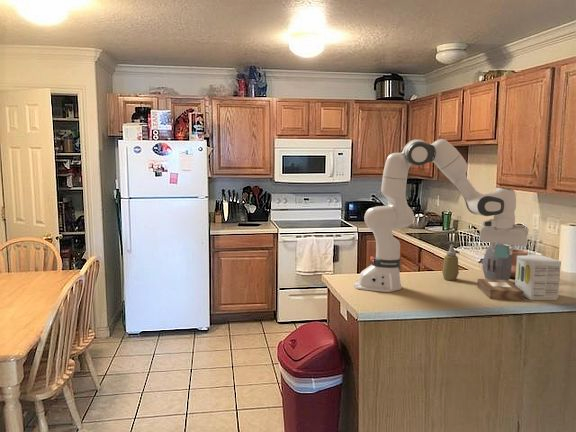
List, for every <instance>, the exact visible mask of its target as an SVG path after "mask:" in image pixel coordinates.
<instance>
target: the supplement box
mask: <svg viewBox="0 0 576 432" xmlns="http://www.w3.org/2000/svg"><path fill="white" fill-rule="evenodd" d="M561 267H562V260H557V259H555V258H551V257H548V256H545V255H527V256H517V264H516V278H514V279H515V281H514V285H516V286H517V287H518V288H520V289H521V290H522V291H524V295H523V298H526V299H527V300H528V299H529V300H530V301H534V300H535V301H553V300H555V301H556V300H559V289H560V279H561V278H560V276H561Z"/></svg>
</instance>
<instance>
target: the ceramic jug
mask: <svg viewBox="0 0 576 432" xmlns="http://www.w3.org/2000/svg"><path fill="white" fill-rule="evenodd" d="M511 248H512V247H509V249H511ZM528 254H529V252H528V251H527V250H525V249H518V248H514V249H513V251H512V268H511V276H510V279H511V278H512V279H515V278H516V264H517V256H529V255H528Z"/></svg>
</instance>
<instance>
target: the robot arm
mask: <svg viewBox="0 0 576 432" xmlns="http://www.w3.org/2000/svg"><path fill="white" fill-rule="evenodd" d="M430 162H432V163H433V164H435V166H436V167H437V168H438V170H439V171H440V172H441V173H442V174H443V175H444V176H445V177H446V178H447V179H448V180H449V181H450V182H451V183H452V184H453V185H454V187H455V188H456V189H457V191H458V192H459V193H460V195H461V196H462V197H463V199H464V203H465V206H466V209H467V211H469V212H470V213H471V214H473V215H476V216H477V215H479V216H483V217H492V216H493V218H492V219H488V220H485V221H482V223H481V224H482V227H480V230H479V235H478V239H479V241H480V242H484V243H489V246H491V248H492V252H493V253H495V247H494V244H495V243H499V244H503V245H507V246H509V245H510V248H511V249H510V250H508V253H507V254H508V255H512V251H513V249H516V246H517V247H526V246H527V245H528V235H529V228H528V226H526V225H523V224H516V215H515V214H516V213H515V211H516V208H517V193H516V192H515V190H513V189H512V188H506V187H497V188H496V189H494V190H493V191H490V192H489V193H486V194H484V193H481V192H479V191H477V190H476V188H475V187H474V186H473V184H472V183H471V182H470V180H469V179H468V177H467V172H468V167H469V165H468V163H467V161H466V159H465V158H464V157H463V155H462V154H461V153H460V152H459V150H458V149H457V148H456V147H455V146H454V145H453V144H451V143H450V142H449V141H448V140H446V139H445V138H444V139H443V138H440V139H436V140H435V141H433V143H427V142H426V141H424V140H423V139H420V138H413V139H409V141H408V142H407V143H405V145H404V146H403V148H402V149H401V150H400V152H392V153H391V154H389V155H388V156H387V157H386V160H385V164H384V168H383V173H382V180H381V187H380V191H381V194H382V196H384V197H385V198H386V199H387V205H380V206H379V205H378V206H377V205H376V206H373V207H370V208H368V209H367V210H366V211H365V213H364V216H363V218H364V219H363V220H364V223H365V225H366V227H367V228H368V229H369V230H370V231H371V232H372V233H373V236H374V239H375V257H374V256H370V257H369V258H370V261H371V264H370V265H369V266H367V267H366V268H365V269H363V270H362V271H361V272H360V273H359V276H358V280H355V281H354V282H353V286H354V288H355V289H357V290H365V291H374V292H382V293H391V292H392V293H393V292H394V291H400V290H402V288H403V286H402V283H401V276H400V275H401V273H400V271H401V263H402V262H401V258H400V257H401V243H400V241H399V239H397V238H396V237H395V236H394V235H393V230H397V229H404V228H407V227H410V226H411V225H412V224H413V223H414V219H415V214H414V211H413V209H412V208H411V207H410V206H409V205H408V202H407V201H408V200H407V197H406V193H407V192H406V191H407V180H408V175H409V169H410V167H411V166H413V165H414V166H417V167H420V166H424V165H426V164H428V163H430Z"/></svg>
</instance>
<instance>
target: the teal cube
mask: <svg viewBox="0 0 576 432" xmlns="http://www.w3.org/2000/svg"><path fill="white" fill-rule="evenodd" d="M504 245H505V244H503V245H497V246H495V257H498V258H508V257H509V255H508V254H507V253H508V250H509V248H510V246H509V245H506V246H504Z"/></svg>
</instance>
